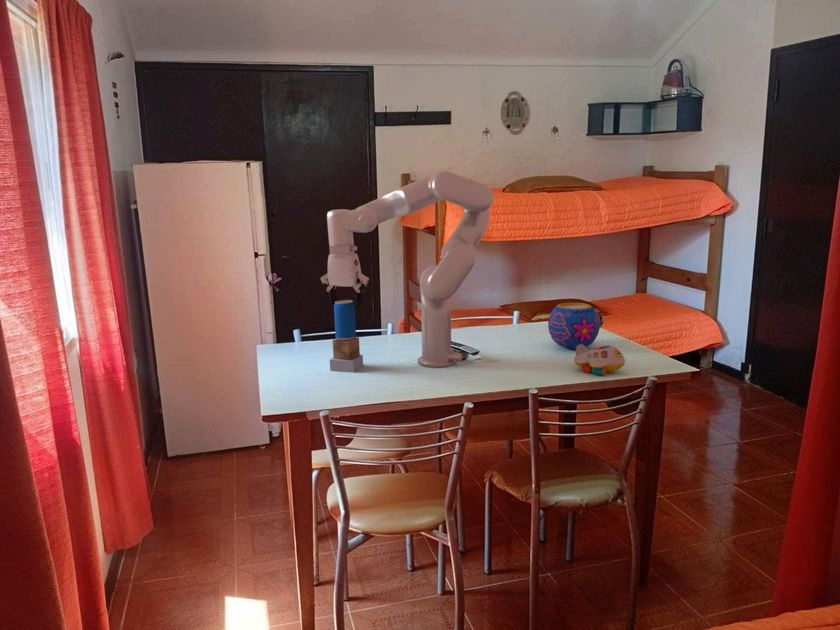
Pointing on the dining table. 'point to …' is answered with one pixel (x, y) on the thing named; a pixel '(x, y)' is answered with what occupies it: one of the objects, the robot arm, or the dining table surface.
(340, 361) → the base block
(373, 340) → the dining table surface
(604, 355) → the toy airplane
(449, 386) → the dining table surface
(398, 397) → the dining table surface
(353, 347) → the walnut cube
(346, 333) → the beverage can
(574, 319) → the ceramic pot
